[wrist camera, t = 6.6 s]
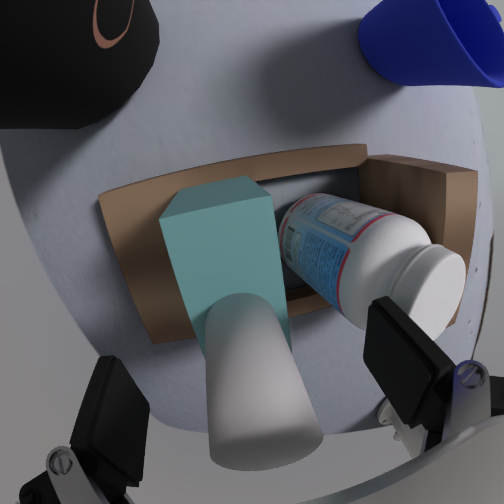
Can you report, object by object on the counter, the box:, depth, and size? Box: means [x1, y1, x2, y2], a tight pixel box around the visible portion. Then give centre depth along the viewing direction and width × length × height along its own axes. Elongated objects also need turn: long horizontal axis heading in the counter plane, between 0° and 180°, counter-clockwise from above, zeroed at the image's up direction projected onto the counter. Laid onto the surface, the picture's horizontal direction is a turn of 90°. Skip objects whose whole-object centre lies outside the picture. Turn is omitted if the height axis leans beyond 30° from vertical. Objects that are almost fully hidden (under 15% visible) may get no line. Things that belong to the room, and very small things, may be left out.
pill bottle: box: [278, 193, 466, 341], centre depth 14 cm, size 6×6×11 cm
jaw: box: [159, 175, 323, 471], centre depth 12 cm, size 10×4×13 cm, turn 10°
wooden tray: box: [98, 144, 478, 344], centre depth 15 cm, size 12×21×9 cm, turn 100°
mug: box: [358, 0, 504, 88], centre depth 10 cm, size 8×12×10 cm
